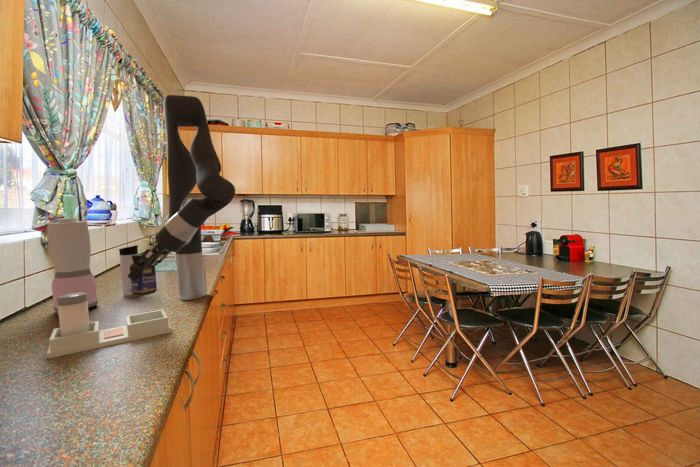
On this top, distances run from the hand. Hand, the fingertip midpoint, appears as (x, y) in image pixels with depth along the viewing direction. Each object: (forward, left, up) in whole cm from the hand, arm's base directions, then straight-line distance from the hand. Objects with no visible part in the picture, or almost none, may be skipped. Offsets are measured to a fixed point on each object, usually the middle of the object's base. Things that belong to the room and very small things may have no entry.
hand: (137, 275), depth 100 cm
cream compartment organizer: (+6, -3, -16) cm, 17 cm away
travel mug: (-29, -39, -16) cm, 52 cm away
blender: (-11, -43, -16) cm, 48 cm away
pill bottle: (-1, +2, -5) cm, 6 cm away
